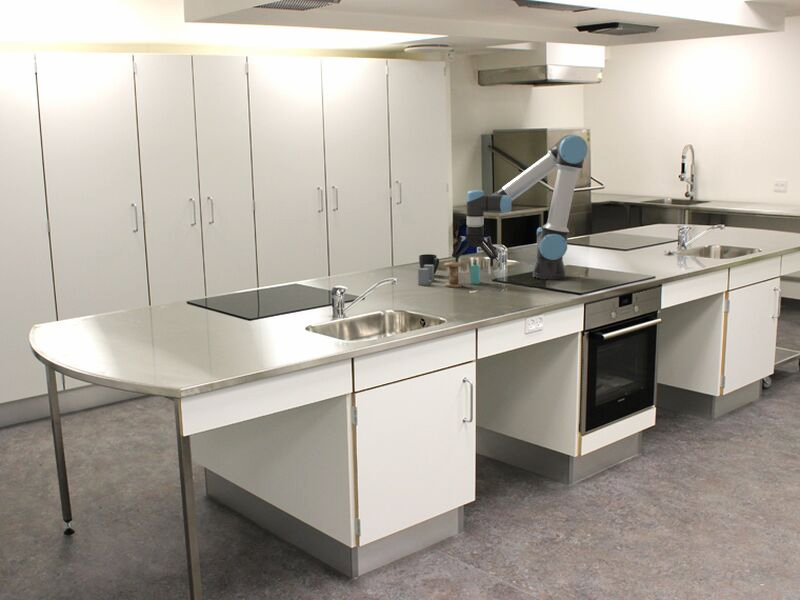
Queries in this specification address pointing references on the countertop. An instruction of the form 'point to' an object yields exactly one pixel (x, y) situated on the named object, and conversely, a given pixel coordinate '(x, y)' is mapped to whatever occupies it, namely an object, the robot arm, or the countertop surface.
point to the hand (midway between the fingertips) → (474, 273)
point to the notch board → (426, 275)
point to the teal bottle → (475, 273)
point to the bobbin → (453, 274)
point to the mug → (429, 261)
